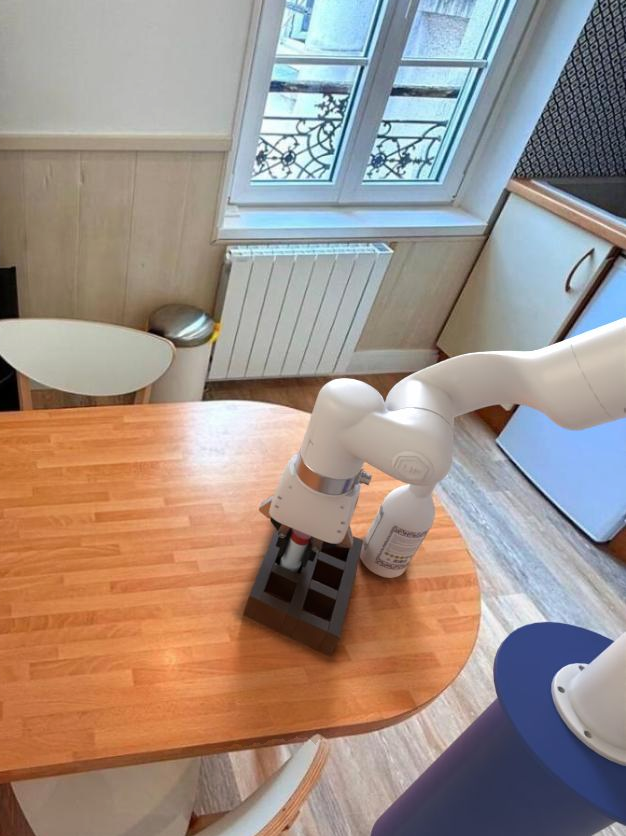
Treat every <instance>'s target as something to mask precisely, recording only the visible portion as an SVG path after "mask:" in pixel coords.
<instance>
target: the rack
mask: <svg viewBox="0 0 626 836" xmlns="http://www.w3.org/2000/svg"><path fill="white" fill-rule="evenodd" d="M277 533H278V531H277V529H276V528H274V531H273V535H272V536H271V539H270V541H269V545H268V546H267V549H266V552H265V554H264V557H263V559H262V562H261V564H260V567H259V569H258V572H257V575H256V577H255V580H254V582H253V585H252V588H251V590H250V592H249V595H248V598H247V601H246V604H245V607H244V610H243V613H242V616H244V617H246V618H249V619H251V620H252V621H255V622H256V623H259V624H261V625H263V626H265V627H267V628H270V629H271V630H273V631H276V632H278V633H280V634H282V635H284V636H286V637H289V638H290V639H292V640H295V641H296V642H299V643H301V644H302V645H305V646H307V647H309V648H312V649H313V650H316V651H318V652H319V653H322V654H324V655H326V656H328V657H330V656H331V654H332V653H333V651H334V650H335V647H336V645H337V643H338V642H339V640H340V639H341V634H342V630H343V626H344V623H345V618H346V614H347V611H348V607H349V602H350V599H351V594H352V591H353V590H352V589H353V586H354V583H355V578H356V573H357V570H358V566H359V562H360V559H361V558H360V554H361V550H362V545H363V541H364V539H362V538H358V537H357V536H354V535H353V539H354V541H353V545H352V547H351V548H343V547H338V546H335V547H333V548H327V549H321V551H320V552H318V553H317V554H316V556H315V559H314V561H313V562H312V561H309V560H308V562H307V565H306V567H305V568H304V567H302V565H301V566H300V568H299V571H298V573H296V572H294V571H292V570H289V569H287V568H285V567H282V566H280V565H279V564H280V561H281V558H282V557H278V553H279V550H280V548H279V547H277V546H276V543H277V540H278V537H279V536H278V535H277ZM273 595H274V596H273ZM314 614H315V615H314ZM323 618H324V619H323Z"/></svg>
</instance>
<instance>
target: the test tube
mask: <svg viewBox="0 0 626 836" xmlns="http://www.w3.org/2000/svg"><path fill="white" fill-rule="evenodd" d="M311 539H312V536H310V535H308V534H305V533H303V532H300V531H298V530H295V529H293V528H292V529H291V532H290V538H289V541H288V543H287V546H286V549H285V551H284V554H283V557H282V558H281V561H280V564H279V565H280V566H282V567H285V568H287V569H289V570H292V571H294V572H296V573H298V571H299V568H300V566H301V562H302V559H303V557H304V554H305V552H306V549H307V547H308V544H309V543H310V541H311Z"/></svg>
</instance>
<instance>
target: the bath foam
mask: <svg viewBox="0 0 626 836" xmlns="http://www.w3.org/2000/svg"><path fill="white" fill-rule="evenodd" d="M437 484H438V483H436V484H433V485H429V486H416V485H411V484H404V485H401V486H398V487H396V488H394V489H393V490H392V491H390V492H389V493H388V494H387V495H386V496H385V498H383V501H382V503H381V504H380V507H379V508H378V511H377V513H376V515H375V516H374V519H373V521H372V522H371V525H370V526H369V528H368V531H367V533H366V535H365V536H364V539H363V540H364V541H363V545H362V550H361V554H360V558H359V559H360V560H361V562H362V563H363V565H364V566H365V567H366V568H367V569H368V570H369V571H370V572H372V574H375V575H377V576H380V577H382V578H388V579H393V578H394V579H395V578H398V577H400V576H401V575H402V574H403V573H404V572H406V569H407V567H408V566H409V565H410V563H411V561H412V560H413V558H414V556H415V554H417V551H418V550H419V548H420V546H421V545H422V543H423V541H424V539H425V538H426V536H427V534H428V533H429V531H430V529H432V528H431V527H432V526H433V524H434V520H435V516H436V507H435V501H434V499H433V497H432V493H433V492H434V490H435V489H436V486H437Z"/></svg>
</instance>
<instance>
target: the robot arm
mask: <svg viewBox="0 0 626 836" xmlns="http://www.w3.org/2000/svg"><path fill="white" fill-rule="evenodd" d="M506 404H510V405H521V406H525V407H528V408H532V409H534V410H536V411H538V412H540V413H542V414H544V415H545V416H546V417H547V418H548V419H549V420H550V421H552V422H553V423H554V424H556V425H557V426H558V427H560V428H563V429H565V430H568V431H575V432H577V431H583V430H587V429H590V428H594V427H597V426H601V425H603V424H607V423H612V422H614V421H615V422H616V421H617V420H621V419H625V418H626V317H623V318H620V319H617V320H615V321H612V322H610V323H607V324H603V325H602V326H599V327H596V328H594V329H590V330H588V331H585V332H583V333H580V334H577V335H575V336H572V337H569V338H567V339H564V340H562V341H559V342H556V343H553V344H550V345H548V346H544V347H542V348H539V349H535V350H529V351H528V350H527V351H525V350H524V351H523V350H522V351H521V350H496V351H495V350H494V351H477V352H470V353H465V354H461V355H456V356H454V357H450V358H447V359H445V360H442V361H440V362H438V363H435V364H433V365H430V366H427V367H425V368H422V369H421V370H418V371H416V372H413V373H411V374H410V375H408V376H406V377H404V378H403V379H401V380H399V382H397V383H396V384H395V385H393V387H392V388H391V389H390V390H389V392H388V393H387V395H386V398H385V400H384V397H383V396H382V394H381V393H380V392H379V391H378V390H377V389H376V388H374V387H373V386H371V385H369V383H366V382H364V381H361V380H358V379H354V378H335V379H333V380H330V381H328V382H327V383H325V384H324V385H322V388H320V390H319V392H318V394H317V397H316V400H315V403H314V406H313V409H312V412H311V415H310V418H309V421H308V424H307V427H306V429H305V432H304V435H303V439H302V442H301V445H300V448H299V450H298V453H296V454H294V455H292V456H291V458H290V459H289V461H288V462H287V464H286V465H285V467H284V469H283V471H282V474H281V476H280V478H279V481H278V483H277V486H276V489H275V491H274V494H273V495H271V496H270V497H268V498H266V499H265V500H263V501H262V502H261V503H260V506H259V508H258V511H259V512H260V513H261V514H262V515H263V516H264V517H266V518H267V519H269V520H270V523H271V524H272V525H273V527H274V529H277V531H278V533H277V535H278V536H279V537H278V540H277V543H276V546H277V547H279V548H280V550H279V553H278V557H283V554H284V551H285V549H286V546H287V543H288V541H289V538H290V532H291V529H292V528H293V529H295V530H298V531H300V532H303V533H305V534H308V535H310V536H312V539H311V541H310V543H309V544H308V547H307V549H306V552H305V554H304V557H303V559H302V562H301V565H302V567H304V568H305V567H306V565H307V562H308V560H309V561H312V562H313V561H314V559H315V556H316V554H317V553H318V552H320V551H321V549H327V548H333V547H335V546H338V547H343V548H351V547H352V545H353V541H354V539H353V536H354V535H353V532H352V528H351V521H352V519H353V516H354V514H355V510H356V507H357V504H358V502H359V497H360V493H361V486H362V485H366V486H369V485H370V483H371V480H372V477H373V474H370V473H367V471H365V470H364V469H365V468H363V467H364V464H365V463H366V464H368V465H369V466H371V467H373V468H375V469H377V470H378V471H380V472H382V473H383V474H385V475H387V476H389V477H390V478H393V479H395V480H397V481H399V482H401V483H404V484H406V485H408V484H411V485H416V486H429V485H433V484H436V483H437V484H438V483H439V482H441V481H443V480H444V479H445V478H446V477H447V476H448V475H449V473H450V470H451V468H452V463H453V454H454V435H455V434H454V433H455V431H454V430H455V418H457V417H459V416H462V415H465V414H468V413H470V412H474V411H476V410H479V409H484V408H486V407H491V406H497V405H506ZM613 641H614V642H613V643H612V644H611V645H610V646H609V647H608V648H607V649H606V650H604V651H603V652H602V653H601V654H600V655H599V656H598V657H597V658H596V659H594V660H593V661H592V662H591V663H590V664H579V663H576V664H570V665H567V666H565V667H563V668H562V669H561V670H559V671H558V672H557V673H556V675H555V676H554V678H553V681H552V684H551V693H552V698H553V701H554V704H555V706H556V709H557V711H558V713H559V714H560V716H561V718H562V720H563V721H564V722H565V724H566V725H567V726H568V728H569V729H570V730H571V731H572V732H573V733H574V734H575V735H576V736H577V737H578V738H579V739H580V740H581V741H582V742H583V743H584V744H585V745H587V746H588V747H589V748H590V749H592V750H593V751H595V752H596V753H598V754H599V755H601V756H603V757H605V758H606V759H608V760H610V761H612V762H615V763H618V764H620V765H623V766H626V631H624V632H623V633H622V634H621V635H620V636H619V637H617V638H616V639H615V640H613Z"/></svg>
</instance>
